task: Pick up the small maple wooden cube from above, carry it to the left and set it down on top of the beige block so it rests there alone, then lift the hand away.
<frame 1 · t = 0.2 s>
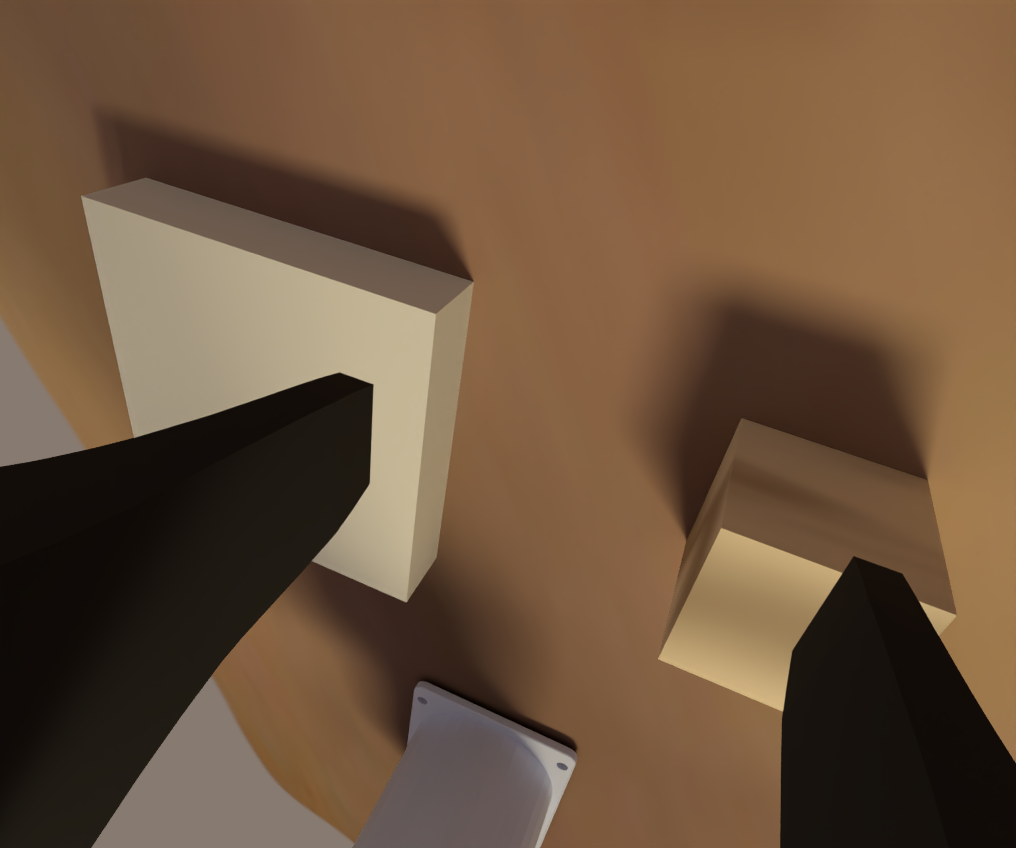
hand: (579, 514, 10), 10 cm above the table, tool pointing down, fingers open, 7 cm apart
maple cube: (795, 511, 20), on the table
beige block: (312, 378, 25), on the table
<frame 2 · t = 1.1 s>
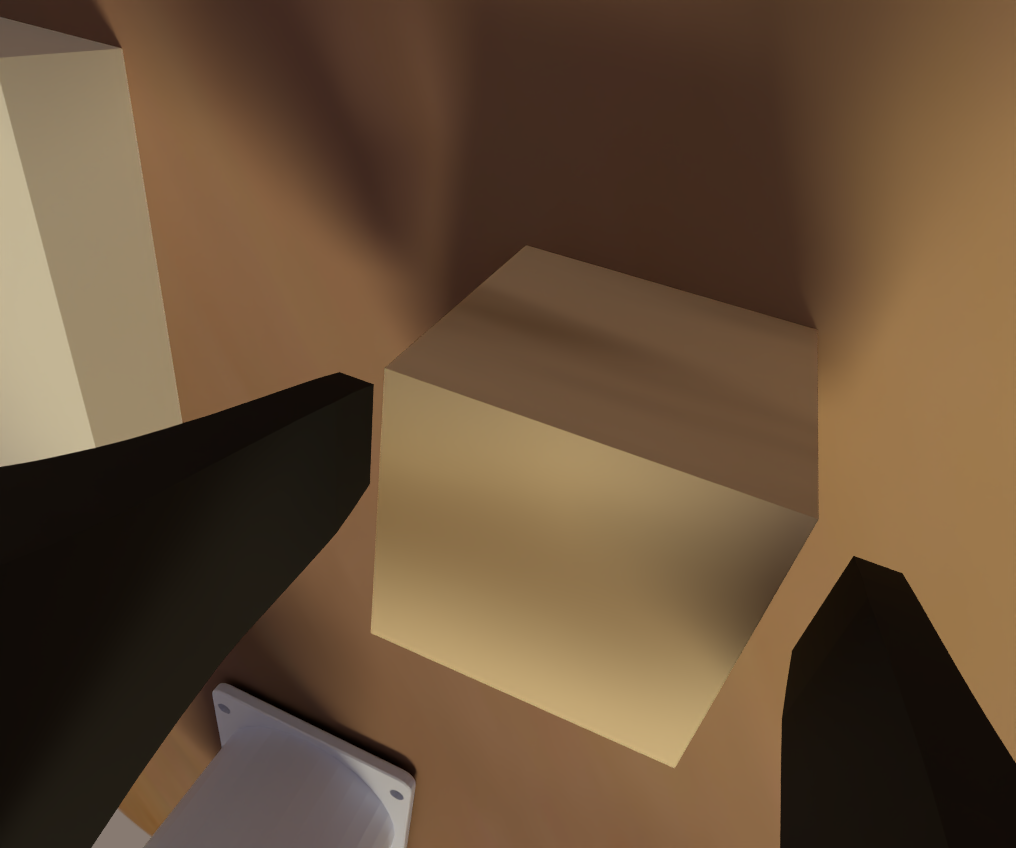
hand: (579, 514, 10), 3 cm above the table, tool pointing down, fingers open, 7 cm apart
maple cube: (628, 405, 13), on the table
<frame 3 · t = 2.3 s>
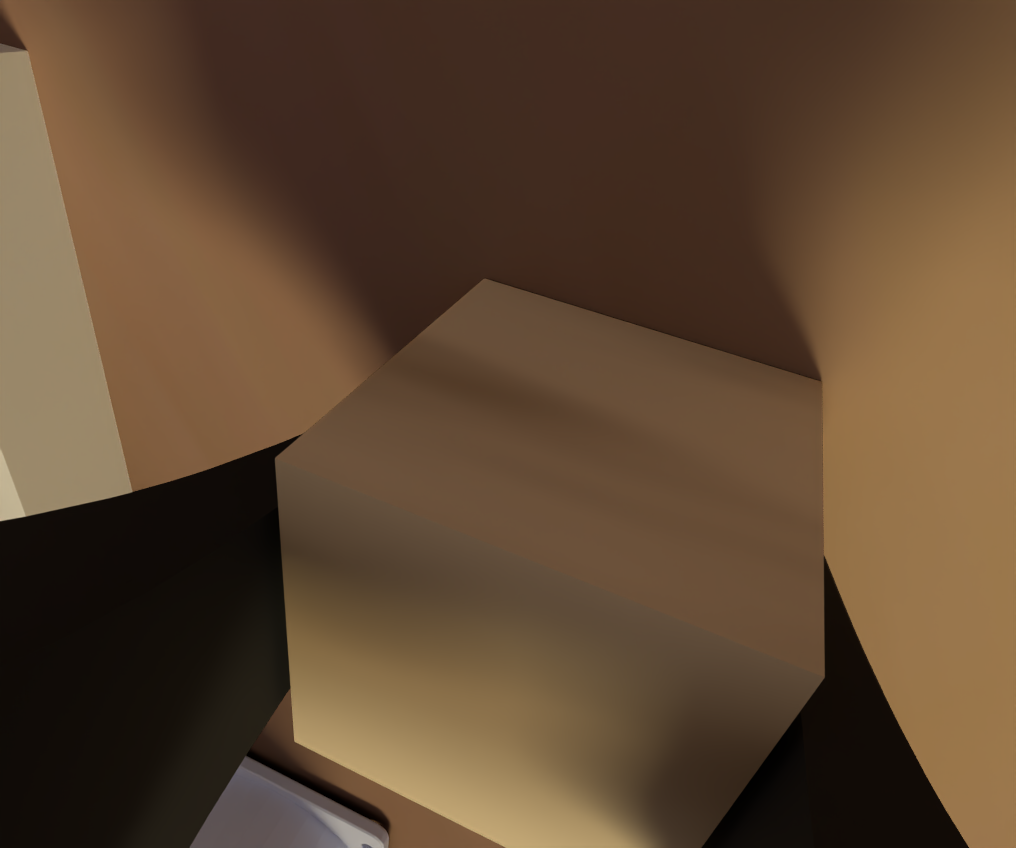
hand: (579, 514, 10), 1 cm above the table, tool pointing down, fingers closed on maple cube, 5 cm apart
maple cube: (603, 461, 11), on the table, touching gripper
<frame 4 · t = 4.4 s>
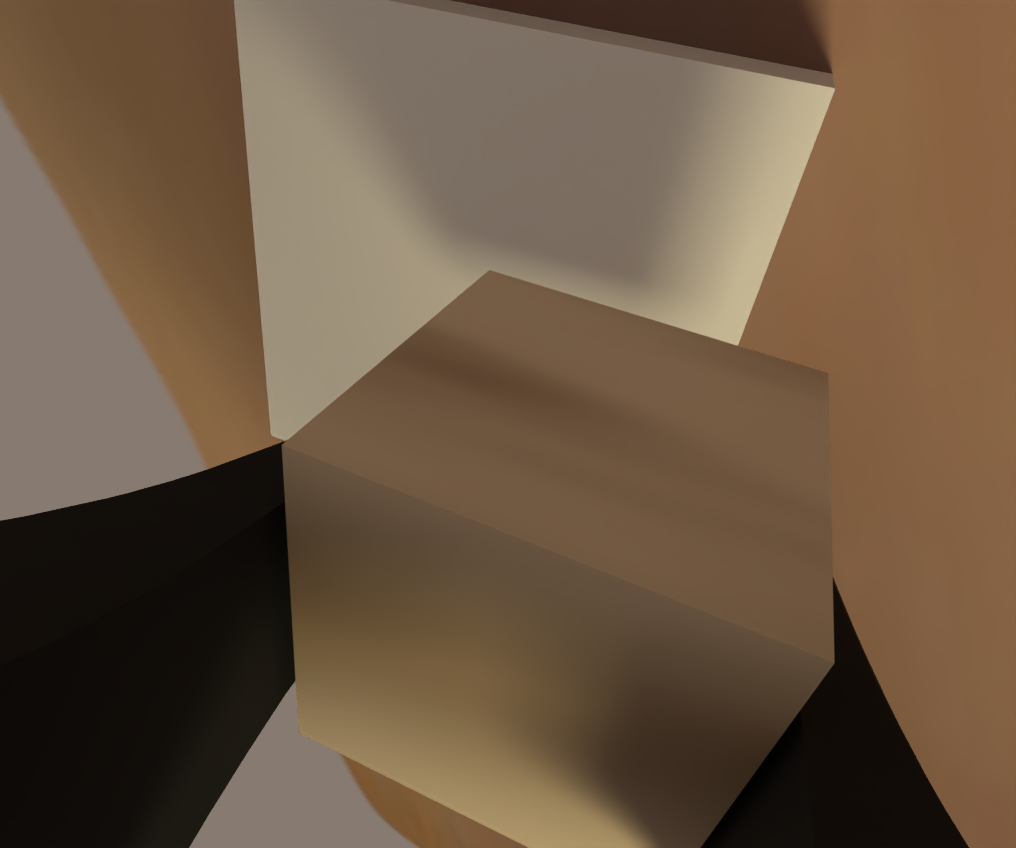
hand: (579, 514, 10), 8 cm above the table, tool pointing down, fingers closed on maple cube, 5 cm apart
maple cube: (608, 454, 11), point 7 cm above the table, touching gripper
beige block: (513, 272, 18), on the table
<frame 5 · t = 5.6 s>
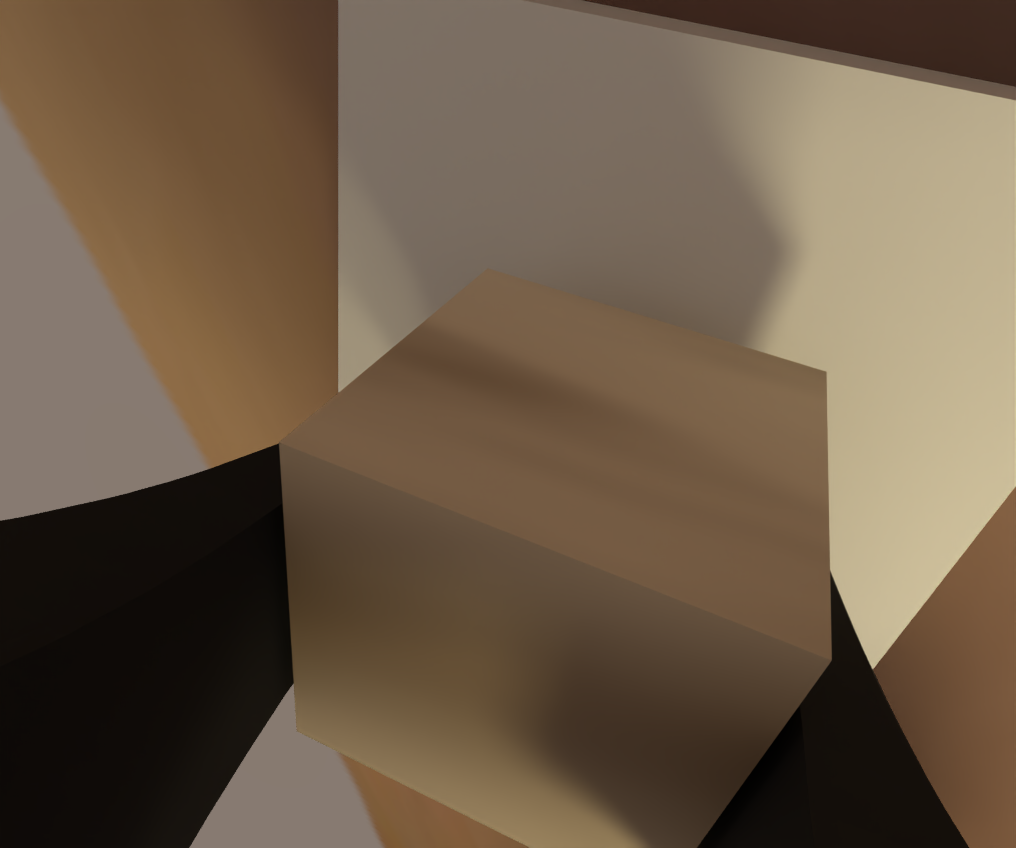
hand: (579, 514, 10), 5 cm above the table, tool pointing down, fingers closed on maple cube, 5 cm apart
maple cube: (606, 452, 11), point 4 cm above the table, touching gripper
beige block: (655, 347, 15), on the table
when the fingers open (5 cm above the table, at t = 6.4 s): maple cube drops 2 cm, resting on beige block.
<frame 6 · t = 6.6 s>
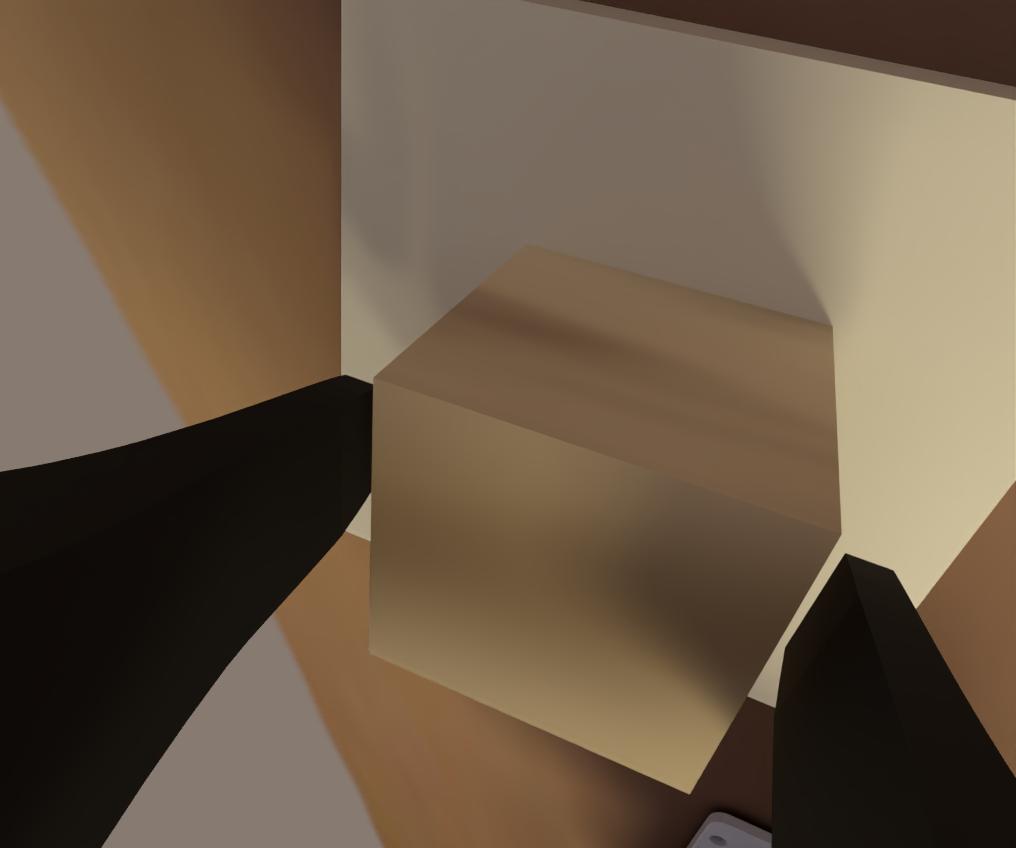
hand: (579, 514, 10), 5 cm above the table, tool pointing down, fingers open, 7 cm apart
maple cube: (634, 410, 12), point 2 cm above the table, touching beige block
beige block: (656, 345, 15), on the table, touching maple cube
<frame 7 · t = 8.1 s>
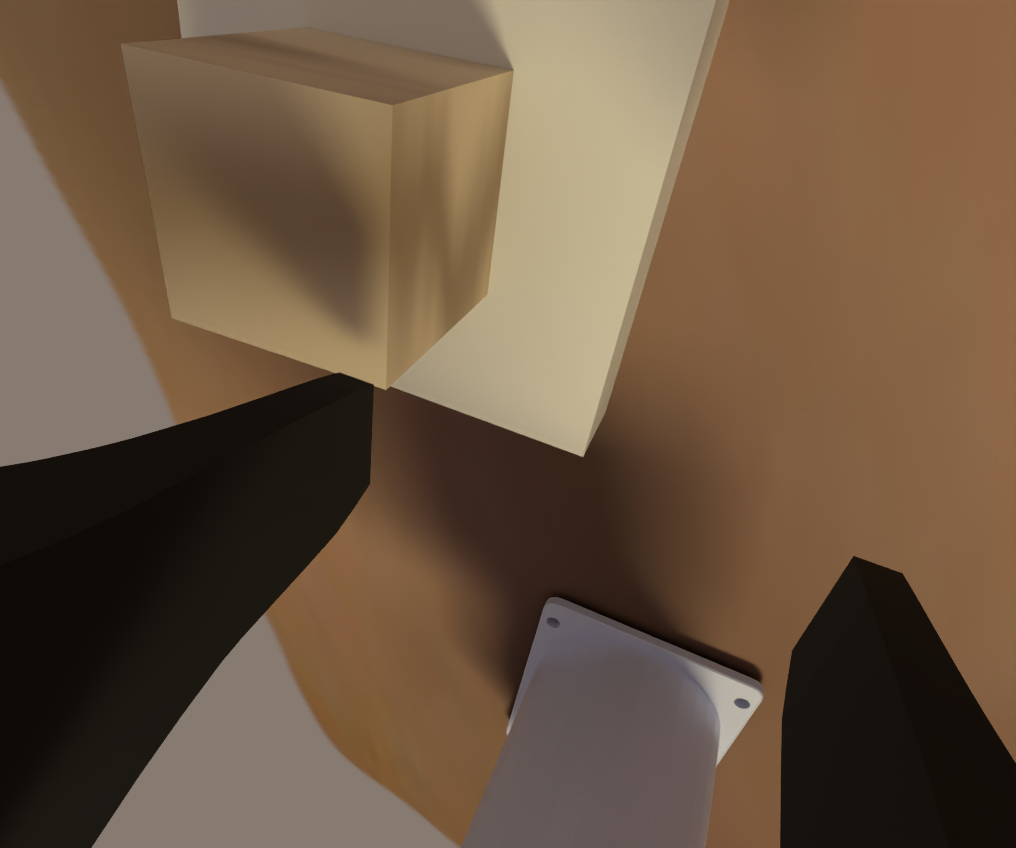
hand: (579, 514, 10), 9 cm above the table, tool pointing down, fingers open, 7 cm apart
maple cube: (400, 168, 16), point 2 cm above the table, touching beige block
beige block: (453, 149, 18), on the table, touching maple cube
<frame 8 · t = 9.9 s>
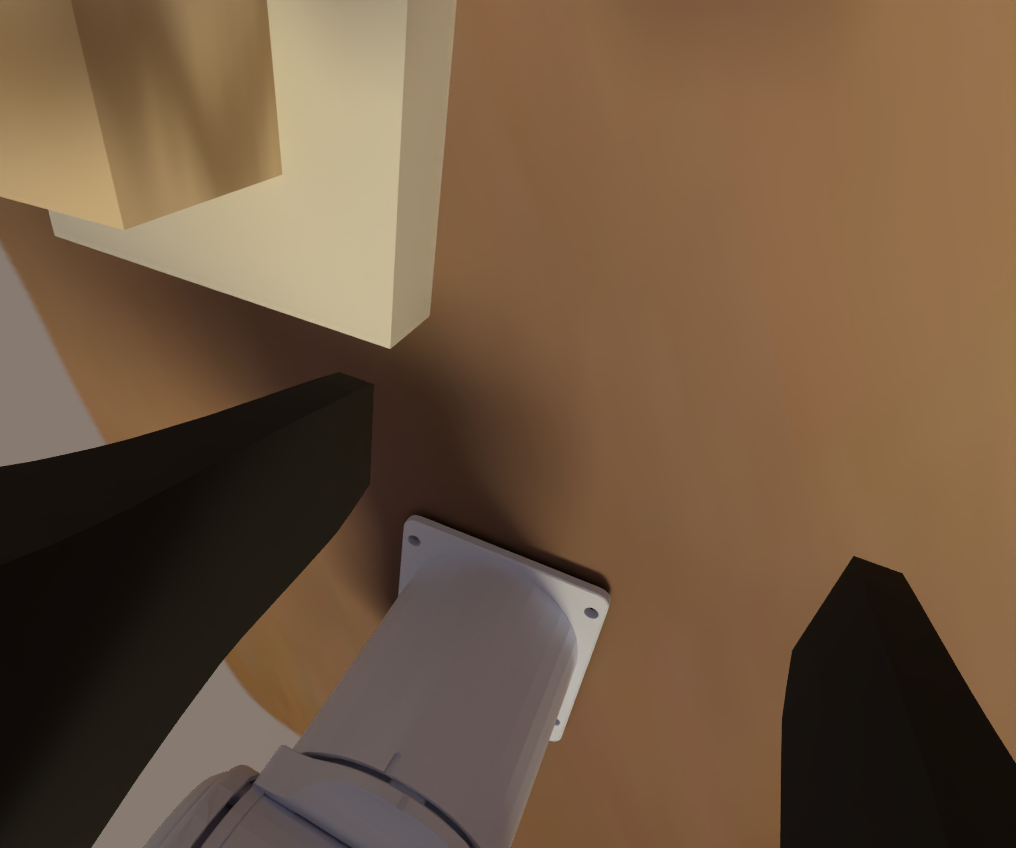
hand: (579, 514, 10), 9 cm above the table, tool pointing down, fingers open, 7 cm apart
maple cube: (185, 48, 16), point 2 cm above the table, touching beige block
beige block: (263, 55, 19), on the table, touching maple cube
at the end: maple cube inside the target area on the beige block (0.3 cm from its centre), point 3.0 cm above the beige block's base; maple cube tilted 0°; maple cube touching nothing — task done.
